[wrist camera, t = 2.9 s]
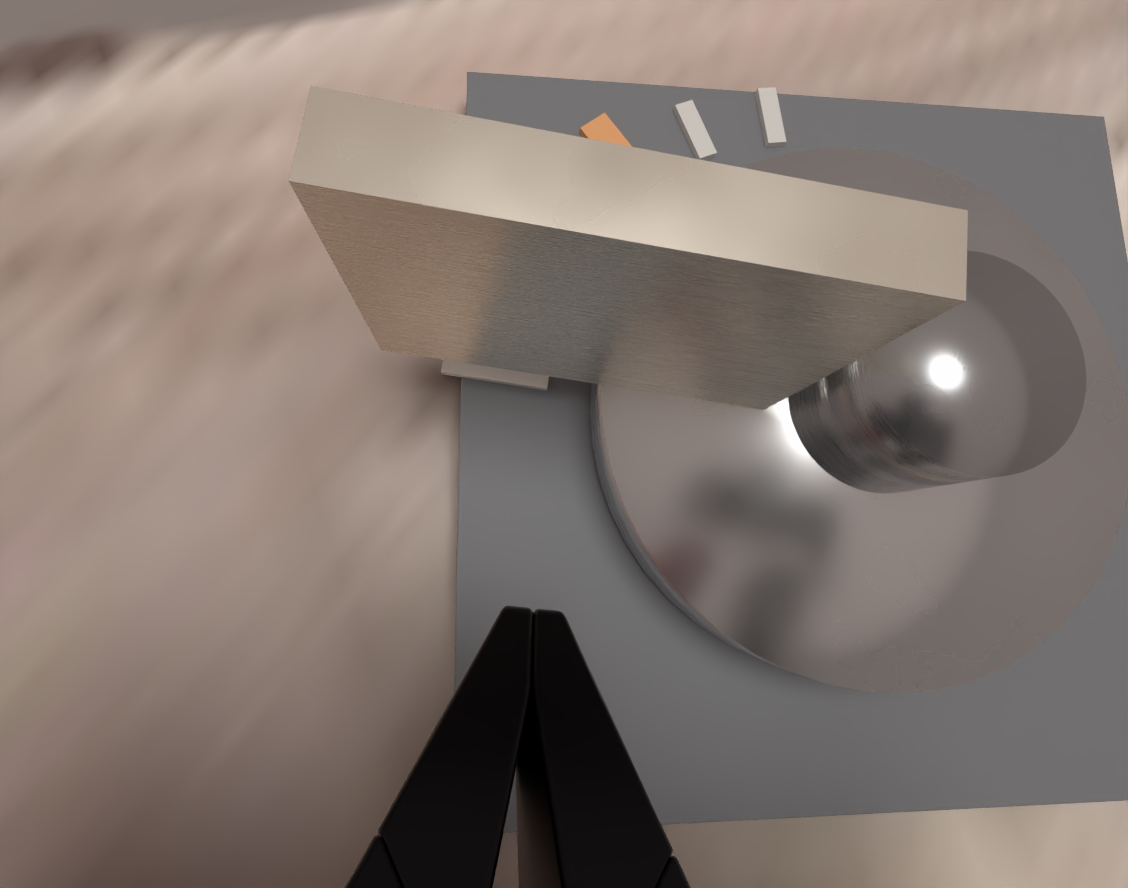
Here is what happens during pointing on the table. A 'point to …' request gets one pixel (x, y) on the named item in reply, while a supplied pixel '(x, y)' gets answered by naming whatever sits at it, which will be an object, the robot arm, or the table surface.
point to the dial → (763, 372)
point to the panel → (692, 654)
